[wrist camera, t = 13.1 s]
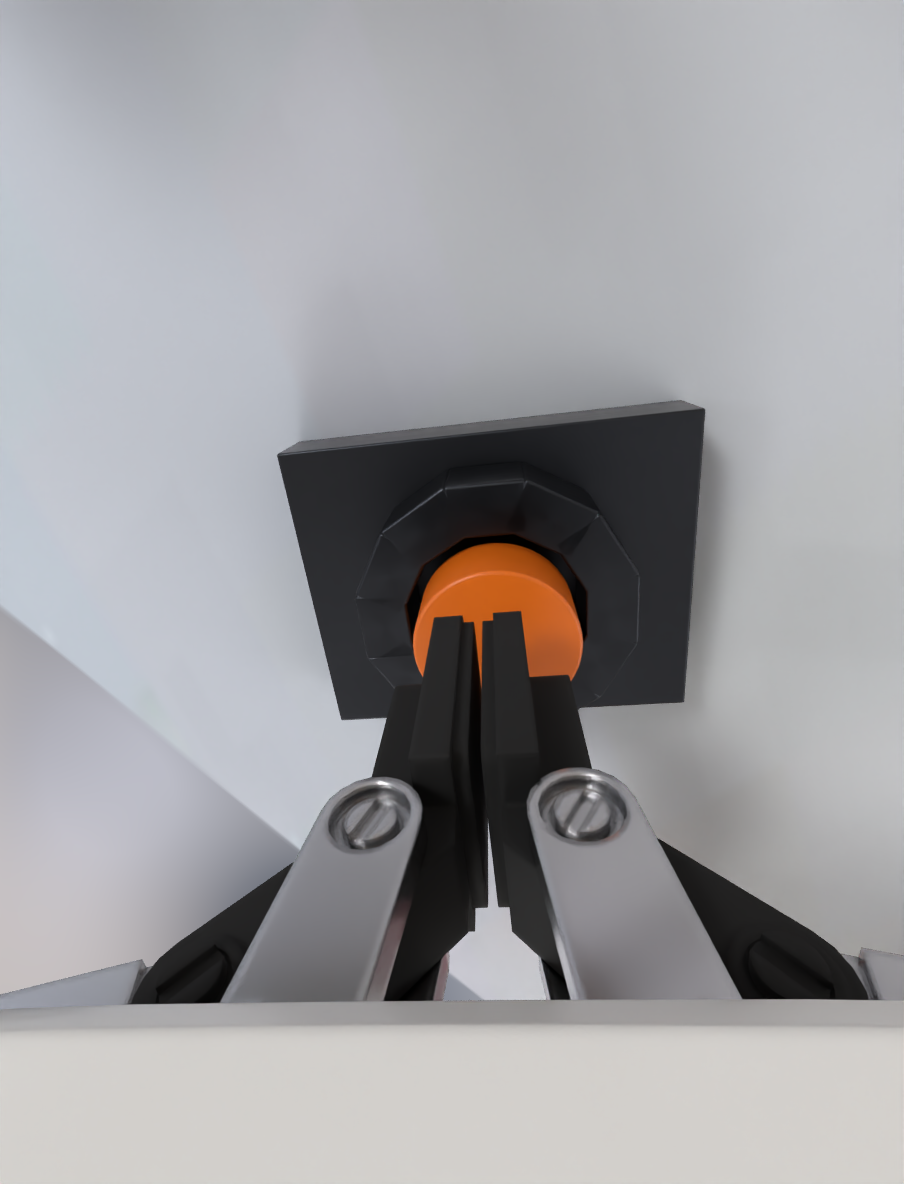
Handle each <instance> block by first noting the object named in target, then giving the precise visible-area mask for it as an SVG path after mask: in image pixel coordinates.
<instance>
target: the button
mask: <svg viewBox="0 0 904 1184" xmlns="http://www.w3.org/2000/svg"><path fill="white" fill-rule="evenodd" d="M511 611H521V614H522V622H523V630H524V638H525V646H526V654H527V662H528V670H529V677H537V676H552V675H569V677H570V680H571V681H572V679H573V677H574V676H575V674H576V672H577V670H578V667H579V664H580V662H581V657H582V653H583V635H582V630H581V626H580V622H579V619H578V615H577V612H576V609H575V605H574V602H573V599H572V595H571V592H570V589H569V587H568V585H567V582H566V581H565V579H564V577H563V576H562V574H561V573H560V572H559V570H558V569H557V568H556V567H555V566H554V565H553V564H552V563H551V562H550V561H549V560H547V559H546V558H545V557H543V556H542V555H540V554H538V553H536V552H535V551H533V550H530V549H528V548H525V547H522V546H518V545H514V544H508V543H487V544H480V545H476V546H473V547H469V548H467V549H465V550H462V551H460V552H458V553H456V554H455V555H453V556H451V557H450V558H449V559H447V560H446V561H445V562H444V563H443V564H442V565H441V566H440V567H439V568H438V569H437V570H436V571H435V573H434V574H433V575H432V577H431V578H430V580H429V582H428V584H427V586H426V589H425V591H424V594H423V598H422V602H421V606H420V610H419V614H418V617H417V621H416V625H415V630H414V634H413V650H414V656H415V661H416V664H417V666H418V669H419V671H420V673H421V675H422V677H423V674H424V669H425V663H426V658H427V653H428V647H429V642H430V636H431V631H432V625H433V620H434V617H446V616H459V615H462V616H463V620H464V622H474V626H475V634H476V643H477V652H478V661H479V670H480V679H481V687H482V621H490V620H493V613H498V612H511Z"/></svg>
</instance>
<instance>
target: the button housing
mask: <svg viewBox="0 0 904 1184" xmlns="http://www.w3.org/2000/svg"><path fill="white" fill-rule="evenodd" d="M704 421H705V409H704V408H701V407H698V406H695V405H693V404H690V403H687V402H685V401H682V400H679V401H670V402H660V403H651V404H642V405H633V406H624V407H614V408H605V409H596V410H587V411H577V412H568V413H559V414H550V415H541V416H531V417H522V418H513V419H504V420H495V421H485V422H476V423H467V424H458V425H449V426H439V427H430V428H421V429H412V430H402V431H393V432H384V433H375V434H366V435H356V436H347V437H338V438H329V439H320V440H310V441H301V442H298V443H296V444H295V445H293V446H291V447H289V448H288V449H286V450H284V451H282V452H281V453H279V454H278V455H277V457H278V461H279V465H280V469H281V473H282V477H283V481H284V485H285V490H286V494H287V498H288V502H289V506H290V510H291V514H292V518H293V522H294V527H295V531H296V535H297V539H298V543H299V547H300V551H301V555H302V559H303V564H304V568H305V572H306V576H307V580H308V584H309V588H310V592H311V597H312V601H313V605H314V609H315V613H316V617H317V621H318V625H319V629H320V634H321V638H322V642H323V646H324V650H325V654H326V658H327V662H328V667H329V671H330V675H331V679H332V683H333V687H334V691H335V695H336V699H337V704H338V708H339V712H340V716H341V719H342V720H355V719H374V718H387V716H388V712H389V708H390V704H391V700H392V697H393V693H394V690H395V687H396V686H398V685H413V684H422V680H423V677H422V675H421V673H420V671H419V669H418V666H417V664H416V661H415V656H414V650H413V634H414V630H415V625H416V621H417V617H418V614H419V610H420V606H421V602H422V598H423V594H424V591H425V589H426V586H427V584H428V582H429V580H430V578H431V577H432V575H433V574H434V573H435V571H436V570H437V569H438V568H439V567H440V566H441V565H442V564H443V563H444V562H445V561H446V560H447V559H449V558H450V557H451V556H453V555H455V554H456V553H458V552H460V551H462V550H465V549H467V548H469V547H473V546H476V545H480V544H487V543H508V544H514V545H518V546H522V547H525V548H528V549H530V550H533V551H535V552H536V553H538V554H540V555H542V556H543V557H545V558H546V559H547V560H549V561H550V562H551V563H552V564H553V565H554V566H555V567H556V568H557V569H558V570H559V572H560V573H561V574H562V576H563V577H564V579H565V581H566V582H567V585H568V587H569V589H570V592H571V595H572V599H573V602H574V605H575V609H576V612H577V615H578V619H579V622H580V626H581V630H582V635H583V653H582V657H581V662H580V664H579V667H578V670H577V672H576V674H575V676H574V677H573V679H572V681H571V685H572V689H573V693H574V697H575V701H576V705H577V709H580V708H583V707H602V706H621V705H640V704H659V703H678V702H684V696H685V682H686V669H687V655H688V641H689V627H690V613H691V600H692V586H693V572H694V558H695V545H696V531H697V517H698V503H699V489H700V476H701V462H702V448H703V434H704Z"/></svg>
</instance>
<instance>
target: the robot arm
mask: <svg viewBox="0 0 904 1184" xmlns="http://www.w3.org/2000/svg"><path fill="white" fill-rule="evenodd" d="M488 823H489V832H490V840H491V849H492V857H493V866H494V874H495V883H496V891H497V900H498V906H499V907H510V915H511V924H512V932H513V933H514V934H516V935H517V936H518V937H519V938H520V939H521V940H522V941H523V942H524V943H525V944H527V945H528V946H529V947H530V948H531V949H532V950H533V951H534V952H535V953H536V954H537V955H538V956H539V969H540V974H541V978H542V982H543V987H544V991H545V995H546V1000H480V1001H479V1000H478V1001H443V997H444V991H445V987H446V982H447V977H448V972H449V957H450V956H449V951H450V950H451V949H452V948H453V947H454V946H455V945H456V944H457V943H458V942H459V941H460V940H461V939H462V938H463V937H464V936H465V935H466V934H467V933H468V931H475V908H487V907H488ZM0 1184H904V956H903V955H898V954H893V953H887V952H882V951H877V950H872V949H866V948H861V951H860V954H859V957H855V956H850V955H845V954H840V953H839V952H838V951H837V950H836V949H835V948H834V947H833V946H832V945H830V944H829V943H828V942H826V941H825V940H824V939H822V938H821V937H819V936H818V935H817V934H815V933H814V932H813V931H811V930H809V929H808V928H806V927H804V926H803V925H801V924H799V923H798V922H796V921H794V920H793V919H791V918H789V917H788V916H786V915H784V914H783V913H781V912H779V911H778V910H776V909H774V908H773V907H771V906H769V905H768V904H766V903H764V902H763V901H761V900H759V899H758V898H756V897H754V896H753V895H751V894H749V893H748V892H746V891H744V890H743V889H741V888H740V887H738V886H736V885H735V884H733V883H731V882H730V881H728V880H726V879H725V878H723V877H721V876H720V875H718V874H716V873H715V872H713V871H711V870H710V869H708V868H706V867H705V866H703V865H701V864H700V863H698V862H696V861H695V860H693V859H691V858H690V857H688V856H686V855H685V854H683V853H681V852H680V851H678V850H676V849H675V848H673V847H671V846H670V845H668V844H666V843H665V842H663V841H661V840H660V839H658V838H657V837H656V835H655V833H654V832H653V830H652V828H651V826H650V824H649V822H648V820H647V818H646V816H645V815H644V813H643V811H642V809H641V807H640V805H639V803H638V801H637V799H636V798H635V796H634V795H633V794H632V792H631V791H630V790H629V788H628V787H627V786H626V785H625V784H623V783H622V782H621V781H619V780H618V779H617V778H615V777H614V776H612V775H609V774H607V773H604V772H602V771H600V770H595V769H592V767H591V763H590V759H589V755H588V751H587V746H586V742H585V738H584V734H583V730H582V726H581V722H580V718H579V713H578V709H577V705H576V701H575V697H574V693H573V689H572V685H571V680H570V677H569V675H552V676H537V677H529V670H528V662H527V654H526V646H525V638H524V630H523V622H522V614H521V611H511V612H498V613H493V620H490V621H482V687H481V679H480V670H479V661H478V652H477V643H476V634H475V626H474V622H464V620H463V616H462V615H459V616H446V617H434V620H433V625H432V631H431V636H430V642H429V647H428V653H427V658H426V663H425V669H424V674H423V680H422V684H413V685H398V686H396V687H395V690H394V693H393V697H392V700H391V704H390V708H389V712H388V716H387V720H386V724H385V728H384V732H383V735H382V739H381V743H380V747H379V751H378V755H377V759H376V763H375V767H374V770H373V774H372V777H371V778H367V779H364V780H360V781H356V782H354V783H352V784H350V785H348V786H346V787H345V788H343V789H341V790H340V791H339V792H337V793H336V794H335V795H334V796H333V797H331V798H330V799H329V801H328V802H327V803H326V805H325V806H324V807H323V809H322V810H321V812H320V814H319V816H318V818H317V819H316V821H315V823H314V825H313V827H312V829H311V831H310V833H309V835H308V836H307V838H306V840H305V842H304V844H303V846H302V848H301V850H300V852H299V853H298V855H297V858H296V859H295V861H294V862H293V863H291V864H290V865H289V866H287V867H286V868H284V869H283V870H281V871H280V872H278V873H277V874H276V875H274V876H273V877H271V878H270V879H268V880H267V881H266V882H264V883H263V884H261V885H260V886H258V887H257V888H256V889H254V890H253V891H251V892H250V893H248V894H247V895H246V896H244V897H243V898H241V899H240V900H238V901H237V902H236V903H234V904H233V905H231V906H230V907H228V908H227V909H226V910H224V911H223V912H221V913H220V914H218V915H217V916H216V917H214V918H213V919H211V920H210V921H208V922H207V923H206V924H204V925H203V926H201V927H200V928H199V929H197V930H196V931H194V932H193V933H191V934H190V935H188V936H187V937H186V938H184V939H183V940H181V941H180V942H178V943H177V944H176V945H175V946H173V947H172V948H171V949H170V950H169V951H168V952H166V953H165V954H164V955H163V956H162V957H160V958H159V959H158V961H157V962H156V963H155V964H154V965H153V966H151V967H147V968H146V966H145V964H144V962H143V960H137V961H133V962H129V963H125V964H121V965H117V966H113V967H109V968H105V969H101V970H97V971H93V972H89V973H85V974H81V975H77V976H73V977H69V978H65V979H61V980H57V981H53V982H49V983H45V984H41V985H37V986H33V987H29V988H25V989H21V990H17V991H13V992H9V993H5V994H1V995H0Z"/></svg>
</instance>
